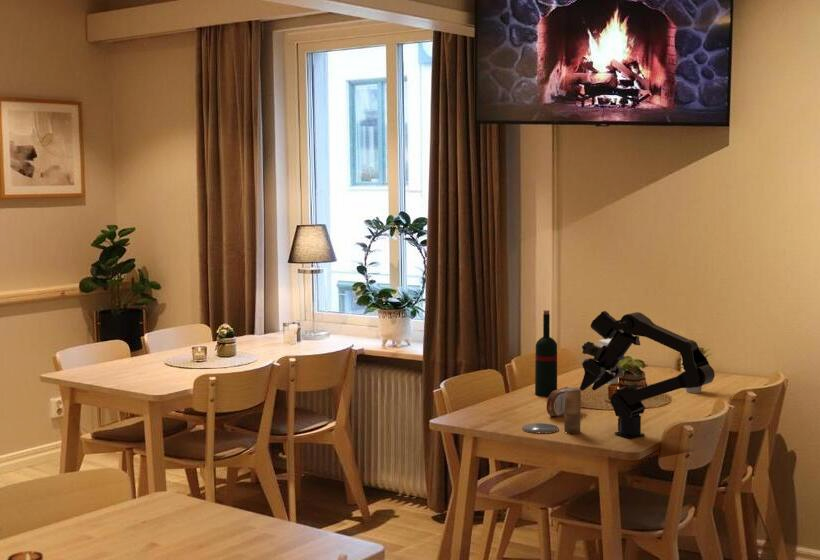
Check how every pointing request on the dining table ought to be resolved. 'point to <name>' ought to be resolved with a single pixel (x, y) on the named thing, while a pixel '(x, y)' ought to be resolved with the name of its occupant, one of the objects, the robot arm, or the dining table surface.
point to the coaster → (540, 427)
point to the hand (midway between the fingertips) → (587, 389)
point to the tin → (556, 402)
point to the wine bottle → (545, 361)
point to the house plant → (695, 389)
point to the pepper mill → (572, 410)
